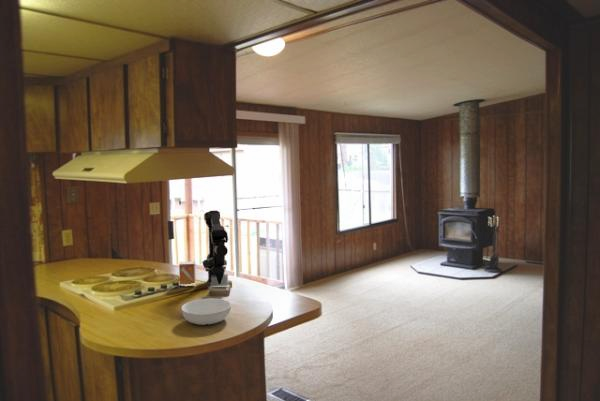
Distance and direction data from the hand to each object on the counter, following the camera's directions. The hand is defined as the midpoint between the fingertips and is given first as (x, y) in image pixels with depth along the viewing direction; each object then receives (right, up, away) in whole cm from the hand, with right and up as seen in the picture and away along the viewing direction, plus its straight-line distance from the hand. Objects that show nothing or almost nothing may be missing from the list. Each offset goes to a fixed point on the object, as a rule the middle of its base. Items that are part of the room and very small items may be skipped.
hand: (219, 282), depth 240 cm
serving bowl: (+2, -10, -41) cm, 42 cm away
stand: (0, -6, 0) cm, 6 cm away
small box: (-20, -5, +15) cm, 26 cm away
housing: (0, -1, 0) cm, 1 cm away
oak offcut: (+2, -5, +13) cm, 14 cm away
